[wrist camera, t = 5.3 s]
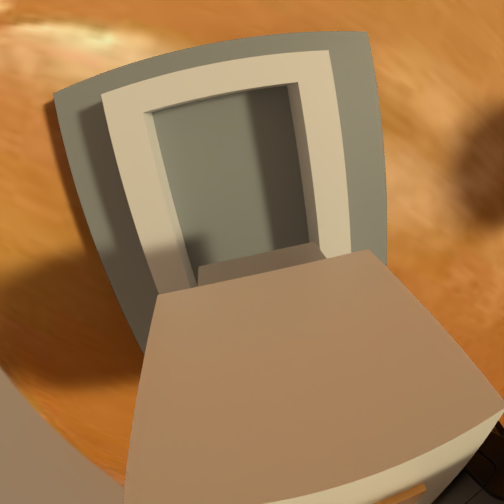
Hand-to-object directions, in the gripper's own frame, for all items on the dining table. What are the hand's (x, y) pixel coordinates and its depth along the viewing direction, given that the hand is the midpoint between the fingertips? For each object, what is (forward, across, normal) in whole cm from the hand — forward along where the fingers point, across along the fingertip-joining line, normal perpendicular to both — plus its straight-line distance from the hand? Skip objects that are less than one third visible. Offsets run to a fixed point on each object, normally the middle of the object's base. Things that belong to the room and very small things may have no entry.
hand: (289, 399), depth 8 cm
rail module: (+2, 0, 0) cm, 2 cm away
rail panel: (+7, 0, 0) cm, 7 cm away
